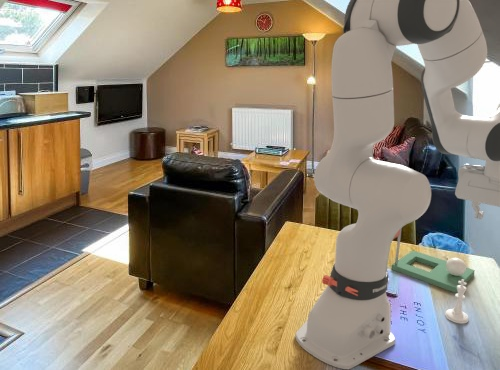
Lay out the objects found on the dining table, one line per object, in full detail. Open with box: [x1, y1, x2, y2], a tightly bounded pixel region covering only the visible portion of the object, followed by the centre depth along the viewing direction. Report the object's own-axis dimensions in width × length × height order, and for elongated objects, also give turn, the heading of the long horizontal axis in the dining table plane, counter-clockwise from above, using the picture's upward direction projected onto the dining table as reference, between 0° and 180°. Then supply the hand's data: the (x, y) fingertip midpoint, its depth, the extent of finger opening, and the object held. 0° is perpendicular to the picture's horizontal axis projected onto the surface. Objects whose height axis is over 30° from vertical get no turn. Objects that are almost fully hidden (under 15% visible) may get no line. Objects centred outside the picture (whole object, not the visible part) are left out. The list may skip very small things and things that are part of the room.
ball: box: [446, 257, 467, 276], centre depth 107 cm, size 5×5×5 cm
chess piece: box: [445, 279, 469, 324], centre depth 89 cm, size 5×5×10 cm
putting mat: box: [391, 227, 476, 294], centre depth 109 cm, size 17×18×14 cm
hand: (495, 222), depth 97 cm, fingers open, 6 cm apart
